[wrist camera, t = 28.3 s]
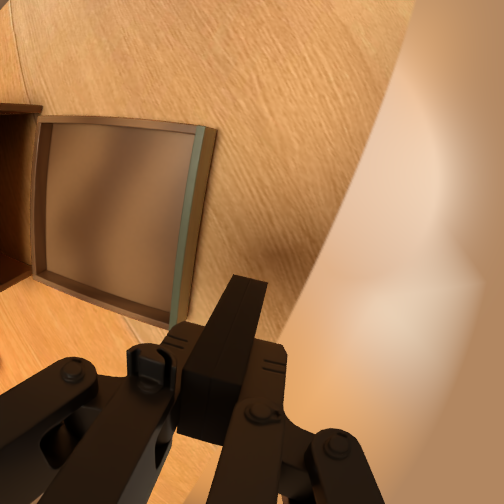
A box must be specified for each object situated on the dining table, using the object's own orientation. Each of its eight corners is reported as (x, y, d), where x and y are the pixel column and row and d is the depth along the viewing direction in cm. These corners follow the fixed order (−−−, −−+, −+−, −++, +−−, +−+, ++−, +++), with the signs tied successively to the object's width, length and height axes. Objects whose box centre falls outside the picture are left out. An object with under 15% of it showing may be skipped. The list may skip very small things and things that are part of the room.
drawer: (217, 129, 20) (205, 126, 18) (187, 318, 25) (175, 335, 22) (55, 116, 21) (35, 115, 19) (48, 271, 26) (30, 280, 24)
